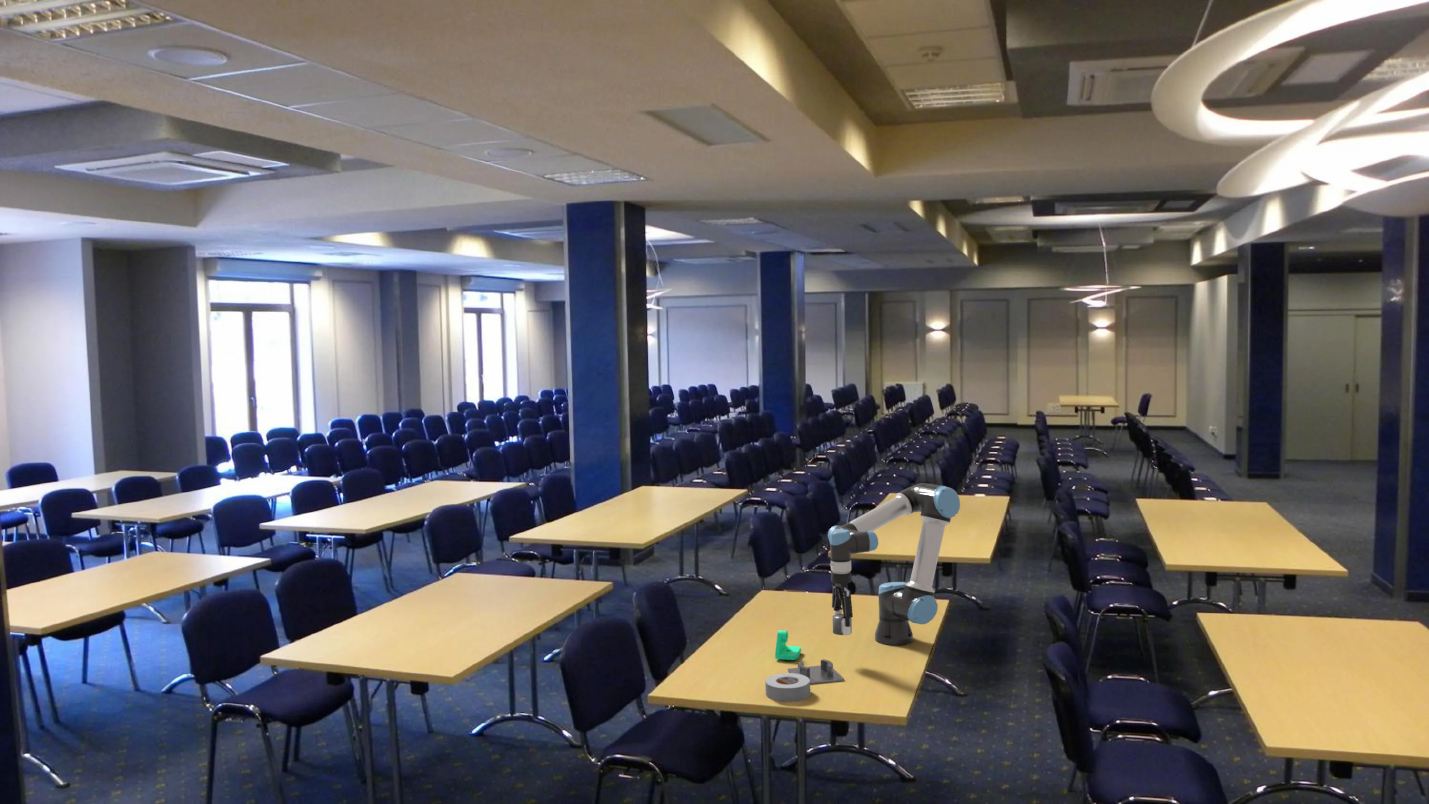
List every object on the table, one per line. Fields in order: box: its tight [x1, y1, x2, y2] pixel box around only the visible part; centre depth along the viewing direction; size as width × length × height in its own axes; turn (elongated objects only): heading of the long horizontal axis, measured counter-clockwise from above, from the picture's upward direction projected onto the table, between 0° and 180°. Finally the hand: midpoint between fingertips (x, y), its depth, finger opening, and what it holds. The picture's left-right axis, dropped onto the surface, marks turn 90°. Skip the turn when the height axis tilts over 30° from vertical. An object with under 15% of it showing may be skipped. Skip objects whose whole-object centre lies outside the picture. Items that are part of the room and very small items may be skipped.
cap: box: [832, 613, 853, 636], centre depth 374 cm, size 7×8×6 cm
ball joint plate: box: [787, 658, 845, 685], centre depth 361 cm, size 16×16×4 cm
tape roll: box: [764, 672, 811, 703], centre depth 344 cm, size 15×15×5 cm
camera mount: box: [774, 629, 802, 661], centre depth 384 cm, size 12×8×10 cm, turn 163°
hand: (842, 631), depth 374 cm, fingers closed on cap, 8 cm apart
